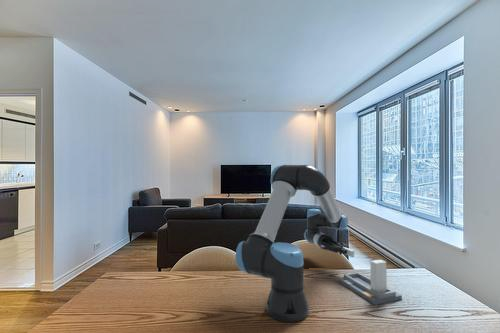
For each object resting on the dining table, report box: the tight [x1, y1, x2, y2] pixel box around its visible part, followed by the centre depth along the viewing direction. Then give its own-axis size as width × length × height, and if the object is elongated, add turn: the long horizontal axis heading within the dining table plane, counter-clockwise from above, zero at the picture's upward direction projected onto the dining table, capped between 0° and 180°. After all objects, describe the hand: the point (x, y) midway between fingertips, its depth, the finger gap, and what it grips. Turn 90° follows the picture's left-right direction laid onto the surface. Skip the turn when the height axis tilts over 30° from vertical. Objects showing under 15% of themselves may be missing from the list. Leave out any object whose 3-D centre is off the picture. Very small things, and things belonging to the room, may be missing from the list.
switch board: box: [338, 271, 403, 306], centre depth 115 cm, size 22×13×3 cm, turn 18°
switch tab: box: [370, 259, 388, 293], centre depth 109 cm, size 3×5×12 cm, turn 108°
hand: (352, 254), depth 124 cm, fingers closed
